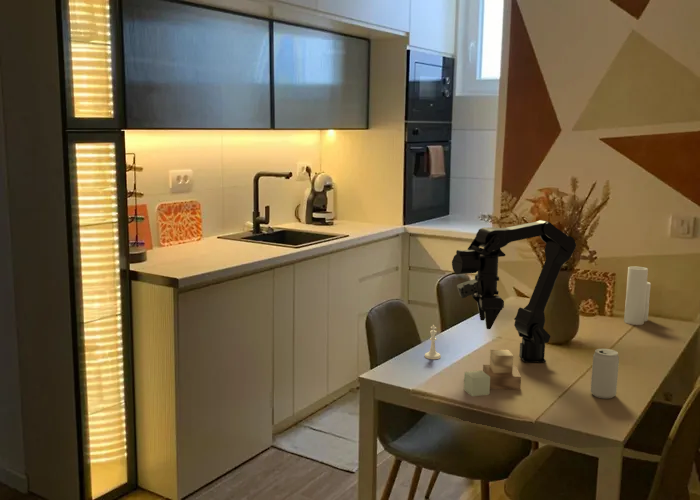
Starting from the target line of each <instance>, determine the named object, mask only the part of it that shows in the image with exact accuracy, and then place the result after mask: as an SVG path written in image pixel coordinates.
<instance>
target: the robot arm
mask: <svg viewBox="0 0 700 500" xmlns="http://www.w3.org/2000/svg"><path fill="white" fill-rule="evenodd" d="M536 237H539V238H540V239H541V240H542V242H544V243H545V247H544V256H545V260H544V263H543V266H542V268H541V271H540V273H539V276H538V279H537V282H536V284H535V286H534V289H533V291H532V294H531V296H530V298H529V301H528V304H527V305H526V306H524V308H523V307H518V309H517V313H516V316H515V317H514V318H513V319H514V327H515V330H516V331H517V332H518V337H520V338H521V342H520V343H519V357H520V359H521V360H522V361H523V362H524V363H546V362H547V360H546V359H545V351H546V350H545V349H546V344H548V343H549V342H550V339H551V335H550V333H548V331H546V329H545V323H546V316H545V309H546V307H547V304H548V301H549V299H550V296H551V294H552V292H553V289H554V287H555V283H556V281H557V279H558V276H559V273H560V271H561V269H562V267H563V265H565V263H567V262H568V261H569V260H570V259H571V258H572V256H573V253H574V252H575V250H576V248H577V243H576V240H575V239H574V237H572V235H568V234H566V233H565V232H563V231H562V230H560V229H559V228H557V227H556V226H555V225H554V224H552V222H551V221H548V220H542V219H539V220H537V221H534V222H528V223H522V224H518V225H514V226H508V227H491V226H490V227H481V228H479V229H478V231H477V232H476V234H475V237H474V239H473V240H472V241H471V243H470V245H469V246H468V247H467V249H465V250H463V249H457V250H456V252H455V253H456V254H455V255H454V256H453V258H452V261H451V267H452V271H453V273H455V275H467V274H469V275H470V274H475V275H474V279H471V280H467V281H464V282H462V283H458V284H456V288H457V290H458V291H457V292H458V294H459V296H460V298H462V299H466V298H467V297H470V296H471V298H473V300H475V302H476V304H477V310H478V315H479V319H480V321H485V326H486V327H485V328H486V330H491V328H492V327H493V326H494V324H495V322H496V319H498V316H499V314H500V312H501V311H502V310H503V309H504V308H505V301H504V299H503V298H502V297H501V296H500V295H499V290H498V282H499V281H500V276H498V274H499V273H498V272H499V271H498V270H499V257H505V256H506V253H505V252H504V251H502V248H504V247H506V246H507V245H508V244H511V243H513V242H516V241H517V242H518V241H521V240H526V239H531V238H536Z"/></svg>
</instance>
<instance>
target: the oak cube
mask: <svg viewBox="0 0 700 500" xmlns="http://www.w3.org/2000/svg"><path fill="white" fill-rule="evenodd" d="M489 353H490V354H489V365H490V369H491V370H492V371H493V373H512V369H513V366H514V355H513V353H512V352H511V351H510V350H509V349H490V350H489Z"/></svg>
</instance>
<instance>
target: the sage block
mask: <svg viewBox="0 0 700 500" xmlns="http://www.w3.org/2000/svg"><path fill="white" fill-rule="evenodd" d="M463 375H464V376H463V378H464V379H463V390H464V391H465V392H466V393H467V394H468V395H469V396H471V397H478V396H479V397H480V396H489V395H490V376H489V375H487V374H486V373H484V372H483V369H482V370H473V371H464V374H463Z"/></svg>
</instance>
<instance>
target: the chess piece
mask: <svg viewBox="0 0 700 500" xmlns="http://www.w3.org/2000/svg"><path fill="white" fill-rule="evenodd" d="M430 329H431V330H430V331H429V333H430V336H431V337H430V338H429V340H430V341H431V342H430V349H429V351H427V352H425V353H424V358H425V359H428V360H439V359H441V357H442V356H441V353H439V352H437V351H436V342H435V341H437V338H436V336H437V326H435V325H434V324H432V326H430Z"/></svg>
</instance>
